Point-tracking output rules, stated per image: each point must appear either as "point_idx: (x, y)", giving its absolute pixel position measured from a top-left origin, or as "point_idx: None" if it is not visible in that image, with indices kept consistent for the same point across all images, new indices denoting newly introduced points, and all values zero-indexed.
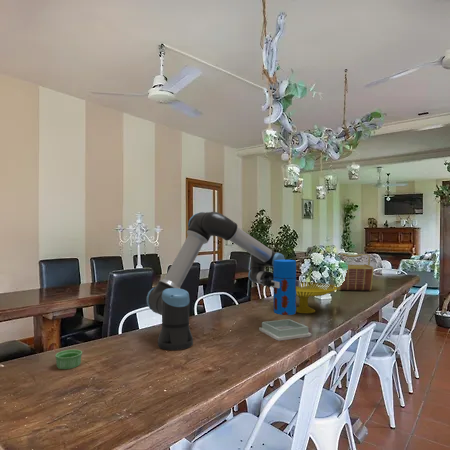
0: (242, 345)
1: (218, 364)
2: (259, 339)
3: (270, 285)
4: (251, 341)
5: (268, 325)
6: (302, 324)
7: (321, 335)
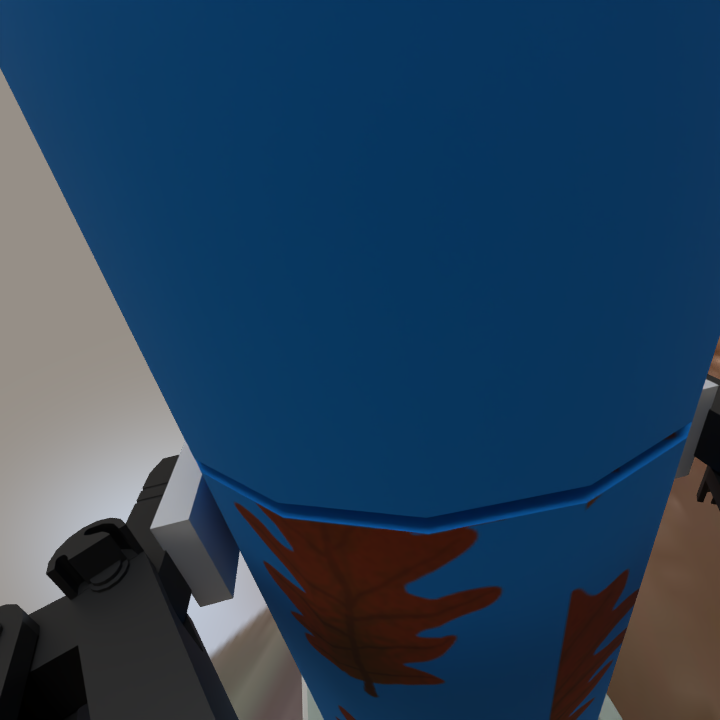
0: (716, 513)
1: (711, 375)
2: (647, 605)
3: (708, 468)
4: (690, 571)
5: (616, 710)
6: (307, 687)
7: (237, 638)
